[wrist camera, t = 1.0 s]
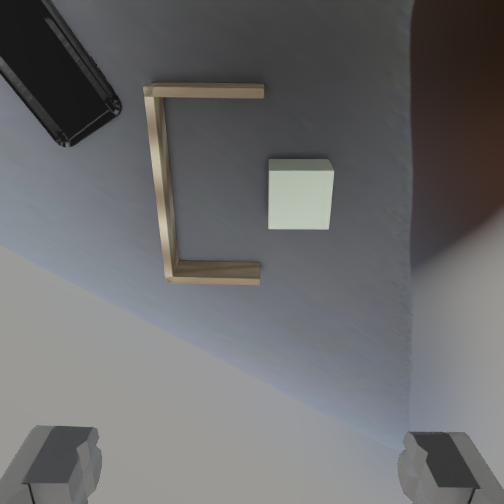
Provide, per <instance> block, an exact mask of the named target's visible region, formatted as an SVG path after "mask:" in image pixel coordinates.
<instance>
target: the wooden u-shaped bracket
mask: <svg viewBox="0 0 504 504" xmlns="http://www.w3.org/2000/svg"><path fill="white" fill-rule="evenodd" d="M143 91H144V99H145V108H146V116H147V125H148V133H149V142H150V151H151V159H152V168H153V176H154V185H155V193H156V202H157V210H158V219H159V227H160V236H161V244H162V253H163V262H164V270H165V279H166V283H191V284H234V285H260V262H218V261H179V258H178V248H177V237H176V227H175V216H174V206H173V195H172V185H171V174H170V164H169V153H168V143H167V132H166V122H165V111H164V101H163V97H190V98H264V84H253V83H175V82H153V83H150V84H148V85H146V86H144V87H143Z"/></svg>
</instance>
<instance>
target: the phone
mask: <svg viewBox="0 0 504 504" xmlns="http://www.w3.org/2000/svg"><path fill="white" fill-rule="evenodd" d="M0 74H1V75H2V76H3V78H4V79H5V80H6V81H7V82H8V84H9V85H10V86H11V87H12V89H13V90H14V91H15V92H16V94H17V95H18V96H19V97H20V98H21V100H22V101H23V102H24V103H25V105H26V106H27V107H28V108H29V110H30V111H31V112H32V113H33V114H34V116H35V117H36V118H37V119H38V121H39V122H40V123H41V124H42V126H43V127H44V128H45V129H46V130H47V132H48V133H49V134H50V135H51V137H52V138H53V139H54V140H55V142H56V143H58V144H59V145H60V146H62V147H71V146H73V145H75V144H77V143H78V142H79V141H81V140H82V139H84V138H85V137H87V136H88V135H90V134H91V133H93V132H94V131H96V130H97V129H99V128H100V127H102V126H103V125H105V124H106V123H108V122H109V121H110V120H112V119H113V118H115V117H116V116H118V115H119V114H120V112H121V107H122V106H121V102H120V100H119V98H118V97H117V95H116V94H115V92H114V91H113V89H112V88H111V86H110V85H109V84H108V82H107V81H106V79H105V77H104V76H103V74H102V73H101V72H100V70H99V69H98V68H97V67H96V64H95V63H94V61H93V60H92V58H91V57H89V55H88V54H87V52H86V51H85V50H84V48H83V47H82V45H81V44H80V42H79V41H78V40H77V38H76V37H75V35H74V34H73V32H72V31H71V30H70V28H69V27H68V25H67V24H66V22H65V21H64V20H63V18H62V17H61V15H60V14H59V12H58V11H57V10H56V8H55V7H54V5H53V4H52V2H51V1H50V0H0Z"/></svg>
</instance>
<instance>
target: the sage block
mask: <svg viewBox="0 0 504 504" xmlns="http://www.w3.org/2000/svg"><path fill="white" fill-rule="evenodd" d="M333 179H334V169H333V167H332V165H331V163H330V161H329V159H269V191H268V229H329V221H330V211H331V200H332V190H333Z"/></svg>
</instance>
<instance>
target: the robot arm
mask: <svg viewBox="0 0 504 504" xmlns="http://www.w3.org/2000/svg"><path fill="white" fill-rule="evenodd" d="M98 439H99V435H98V430H97V428H94V427H70V426H38V425H37V426H36V427H34V428H33V429H32V430H31V431H30V432H29V434H28V436H27V437H26V439H25V441H24V442H23V444H22V445H21V447H20V449H19V450H18V452H17V454H16V455H15V457H14V458H13V460H12V462H11V463H10V465H9V467H8V468H7V470H6V471H5V473H4V475H3V476H2V478H1V479H0V504H88V500H87V497H88V496H89V495H90V494H92V493H93V492H94V491H95V489H96V487H97V484H98V481H99V478H100V472H101V467H102V455H101V450H100V449H99V448H98V447H97V446H96V444H97V442H98ZM403 444H404V446H405V448H406V449H405V450H404V451H403V452H402V453H401V454H400V455H399V459H398V476H399V480H400V484H401V487H402V489H403V492H404V494H405V495H406V496H407V497H408V498H410V499H411V500H412V501H413V504H504V489H503V488H502V487H501V485H500V483H499V482H498V480H497V479H496V477H495V476H494V474H493V473H492V471H491V470H490V468H489V466H488V465H487V464H486V462H485V460H484V459H483V457H482V456H481V454H480V453H479V451H478V450H477V448H476V446H475V445H474V444H473V442H472V440H471V439H470V437H469V436H468V435H467V434H466V433H465V432H407V433H406V434H405V436H404V440H403Z"/></svg>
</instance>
